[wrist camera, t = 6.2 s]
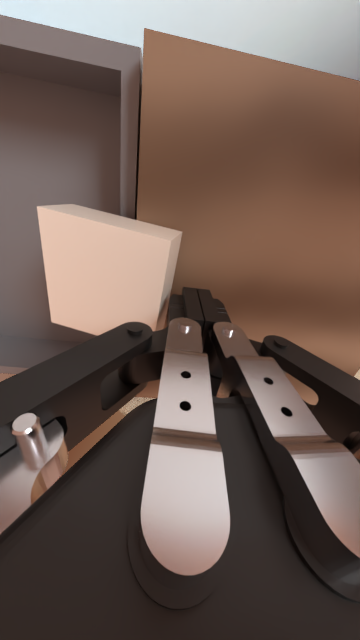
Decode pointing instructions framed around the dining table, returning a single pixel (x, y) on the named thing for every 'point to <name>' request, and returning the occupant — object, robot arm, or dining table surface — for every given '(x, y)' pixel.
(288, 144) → the brown wooden box
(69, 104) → the box
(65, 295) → the tile
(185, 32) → the dining table surface
